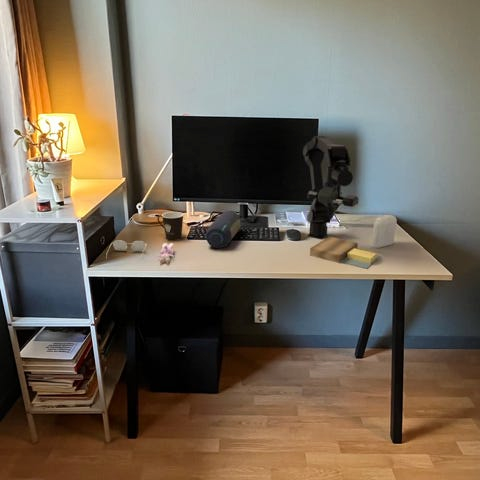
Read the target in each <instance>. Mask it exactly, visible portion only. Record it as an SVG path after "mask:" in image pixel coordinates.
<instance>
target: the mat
mask: <svg viewBox="0 0 480 480" xmlns="http://www.w3.org/2000/svg"><path fill="white" fill-rule="evenodd" d="M381 257H382V255H379V254H377V257H376V259H375V260H374V261H373V262H372V263H370V264H369V263H365V262H361V261H357V260H353V259H349V258H347V257H346V258H345V259H343V260H342V261H341V262H340V263H343V264H345V265H350V266H355V267H359V268H361V269H366V270H367V269H368V268H369V267H371V266H372V265H373V264H374V263H376V262H377V261H378V260H379V259H380V258H381Z"/></svg>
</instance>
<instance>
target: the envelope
mask: <svg viewBox="0 0 480 480" xmlns="http://www.w3.org/2000/svg"><path fill="white" fill-rule="evenodd" d="M335 215H336V216H337V217H338V218H339V219H340V225H342V226H345V228H346V227H348V228H350V227H351V228H374V222H375V220H376V219H377V218H379V217H378V216H377V215H373V214H372V215H370V214H369V215H368V214H367V215H365V214H347V213H345V214H344V213H335Z"/></svg>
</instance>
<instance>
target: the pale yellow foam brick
mask: <svg viewBox="0 0 480 480" xmlns="http://www.w3.org/2000/svg"><path fill="white" fill-rule="evenodd" d="M377 255H378V253H376V252H373V251H368V250H363V249H359V248H357V249H355V248H354V249H352V250H351V251H349V252H348V253H347V258H349V259H353V260H357V261H361V262H365V263H369V264H370V263H372V262H373V261H374V260H375V259H376V257H377Z"/></svg>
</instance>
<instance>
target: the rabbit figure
mask: <svg viewBox="0 0 480 480" xmlns="http://www.w3.org/2000/svg"><path fill="white" fill-rule="evenodd" d="M173 248H174V243H172V242H171V243H167V242H164V243H163V244H162V246H161V250H160V251H159V255H157V256H156V257H157V258H159V257H160V259H159V265H163V264H164V263H166V265H169V263H170V262H171V258H170V257H172V258H175V256H174V250H173Z"/></svg>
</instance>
